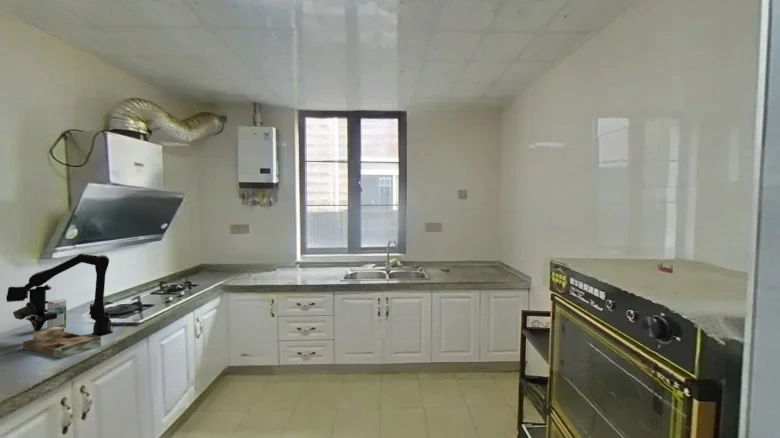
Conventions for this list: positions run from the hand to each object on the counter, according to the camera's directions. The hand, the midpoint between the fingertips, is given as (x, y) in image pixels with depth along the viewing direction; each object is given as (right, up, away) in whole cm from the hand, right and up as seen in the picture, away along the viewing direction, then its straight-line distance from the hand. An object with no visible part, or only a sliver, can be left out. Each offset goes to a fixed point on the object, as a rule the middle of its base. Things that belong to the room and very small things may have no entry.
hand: (37, 332), depth 183 cm
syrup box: (-8, -3, +19) cm, 21 cm away
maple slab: (+8, -2, -3) cm, 9 cm away
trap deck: (+17, -5, -6) cm, 18 cm away
